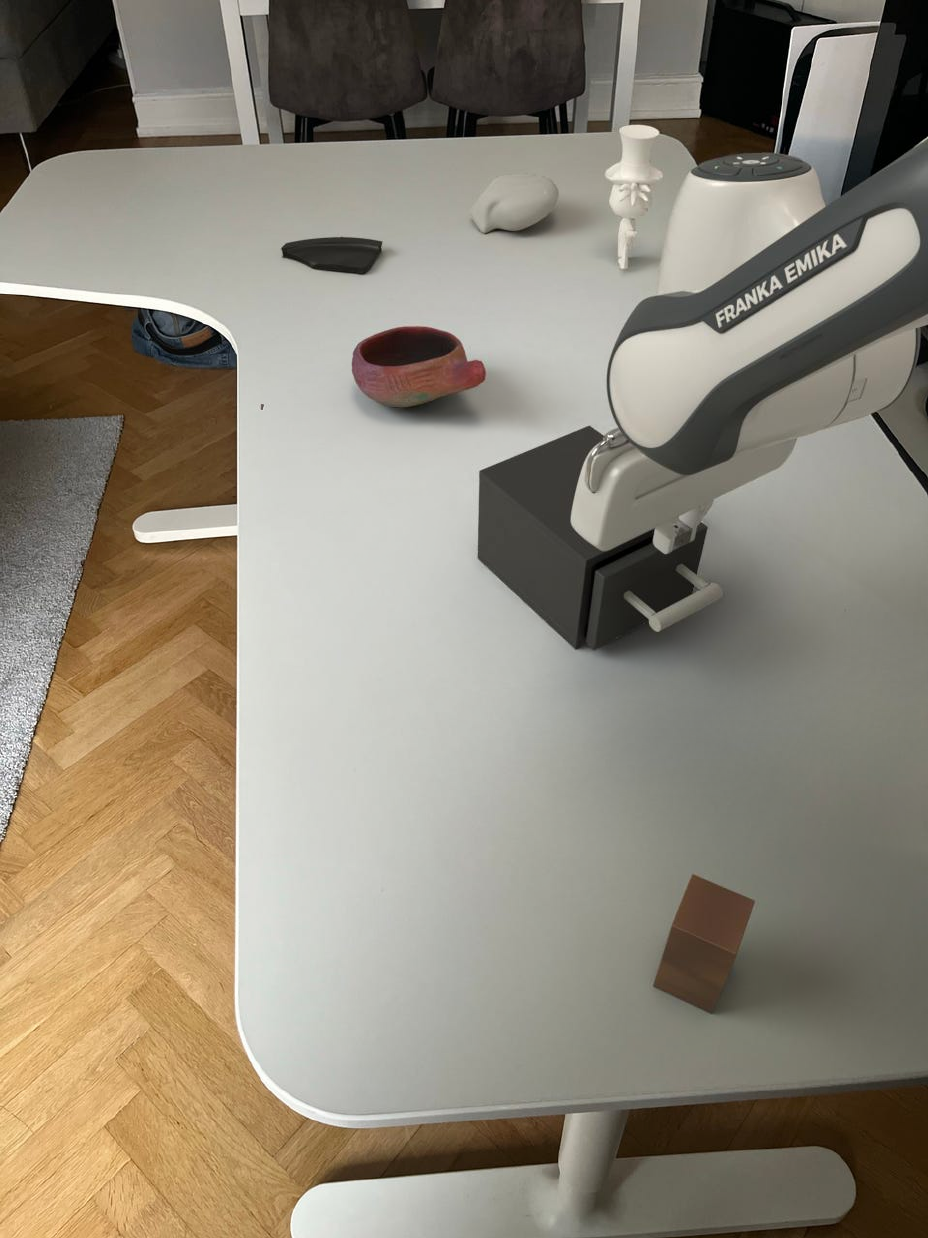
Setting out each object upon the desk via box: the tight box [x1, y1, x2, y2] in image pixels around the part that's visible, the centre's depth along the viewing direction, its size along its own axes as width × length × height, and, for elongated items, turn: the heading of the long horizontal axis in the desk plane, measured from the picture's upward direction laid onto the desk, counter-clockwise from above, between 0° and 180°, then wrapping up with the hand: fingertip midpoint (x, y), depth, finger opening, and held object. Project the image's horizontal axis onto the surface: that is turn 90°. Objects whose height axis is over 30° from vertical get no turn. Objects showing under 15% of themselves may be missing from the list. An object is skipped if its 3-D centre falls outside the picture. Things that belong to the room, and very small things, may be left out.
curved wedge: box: [280, 236, 384, 274], centre depth 142 cm, size 8×14×2 cm, turn 74°
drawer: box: [586, 521, 723, 651], centre depth 87 cm, size 18×12×8 cm, turn 35°
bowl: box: [351, 325, 487, 408], centre depth 113 cm, size 16×13×8 cm
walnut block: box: [652, 873, 756, 1015], centre depth 63 cm, size 4×4×8 cm
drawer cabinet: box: [477, 425, 655, 650], centre depth 90 cm, size 15×13×10 cm
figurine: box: [604, 124, 664, 270], centre depth 135 cm, size 10×8×18 cm
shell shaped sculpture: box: [469, 173, 560, 234], centre depth 149 cm, size 13×13×6 cm
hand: (672, 543), depth 80 cm, fingers closed
